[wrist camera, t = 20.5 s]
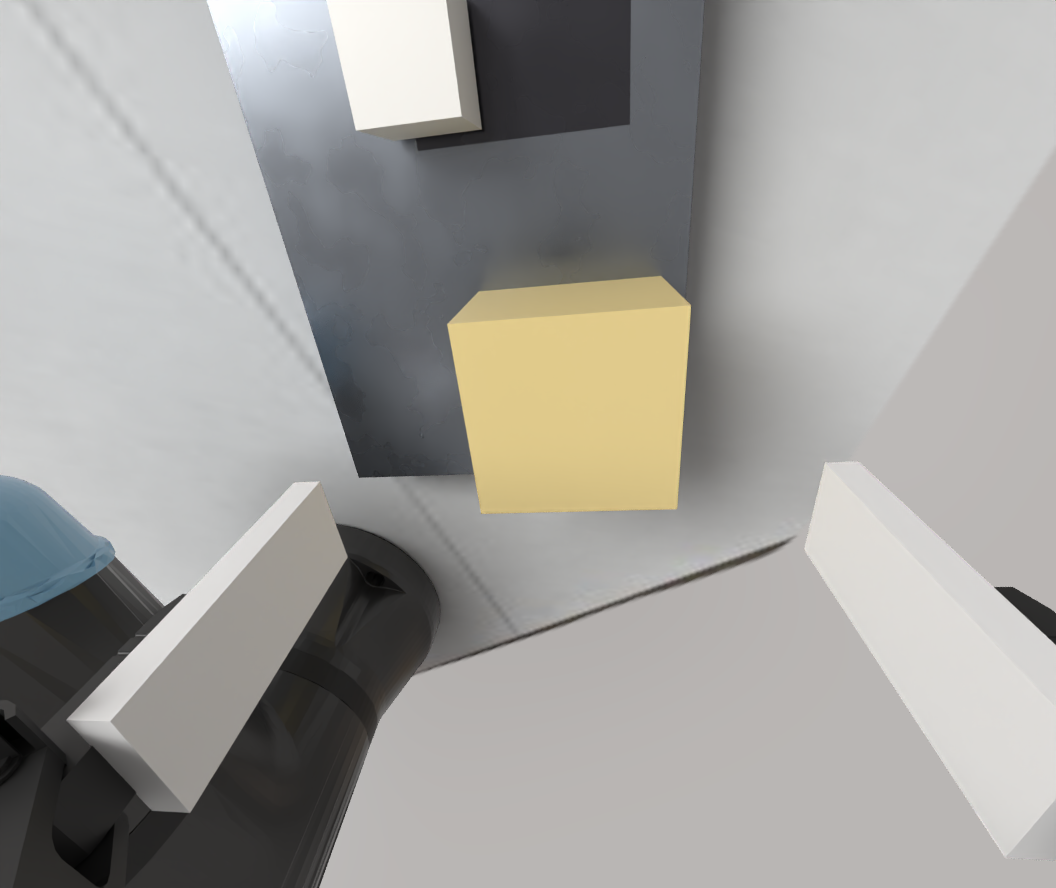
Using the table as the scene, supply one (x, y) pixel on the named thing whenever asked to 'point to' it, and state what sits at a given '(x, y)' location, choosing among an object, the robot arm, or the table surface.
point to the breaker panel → (466, 191)
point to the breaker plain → (407, 66)
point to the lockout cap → (574, 394)
